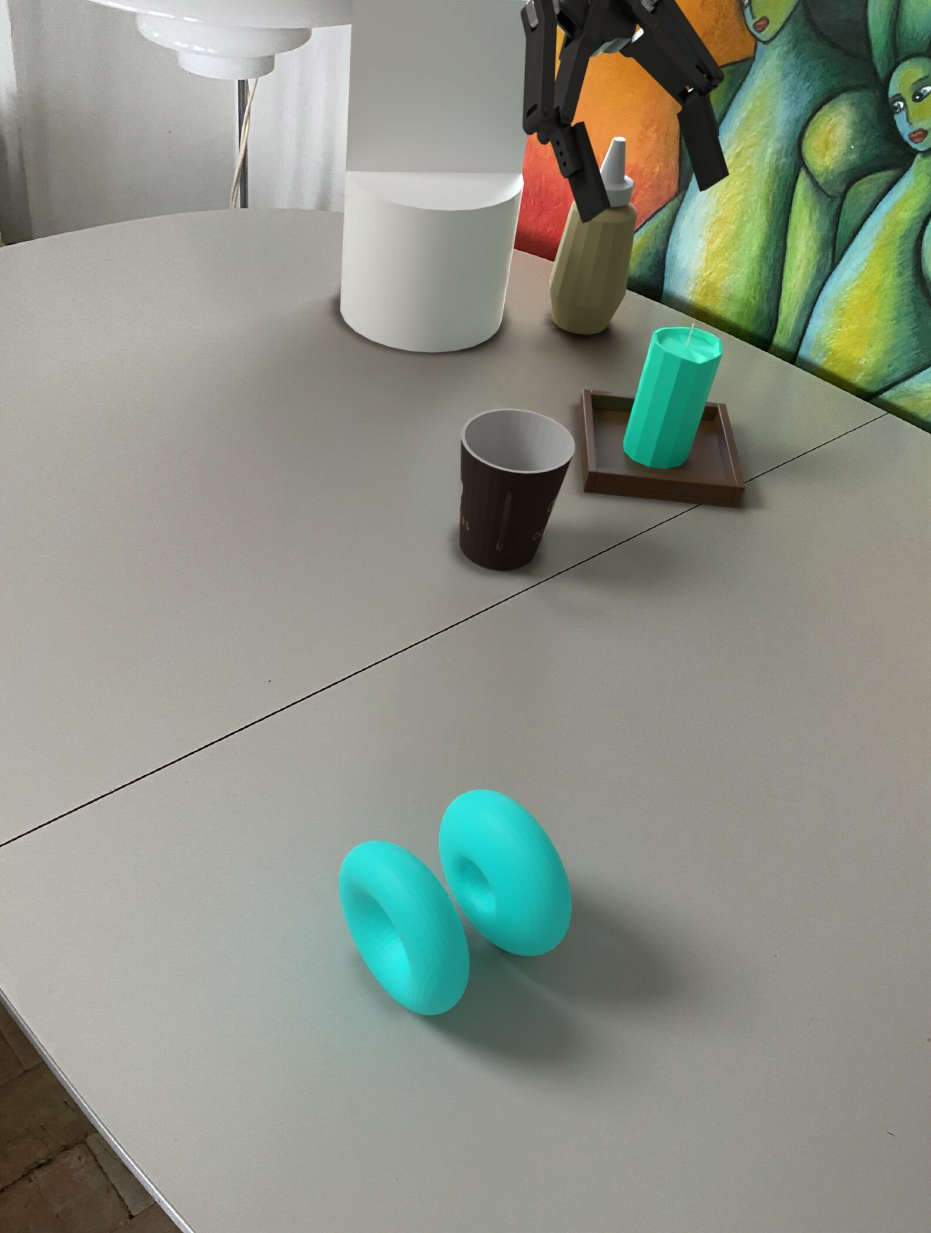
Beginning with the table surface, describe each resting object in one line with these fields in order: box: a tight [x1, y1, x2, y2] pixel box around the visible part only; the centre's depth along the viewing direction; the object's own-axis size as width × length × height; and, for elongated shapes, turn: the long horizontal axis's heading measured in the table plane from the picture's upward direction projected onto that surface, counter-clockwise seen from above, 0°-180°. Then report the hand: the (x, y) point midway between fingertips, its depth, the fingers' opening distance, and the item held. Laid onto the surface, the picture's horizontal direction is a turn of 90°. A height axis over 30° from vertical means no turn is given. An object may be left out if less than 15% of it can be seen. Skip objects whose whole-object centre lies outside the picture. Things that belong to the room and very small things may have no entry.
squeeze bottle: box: [547, 136, 638, 335], centre depth 106 cm, size 8×8×18 cm
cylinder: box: [339, 0, 530, 353], centre depth 102 cm, size 17×17×28 cm
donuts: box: [338, 788, 573, 1016], centre depth 59 cm, size 10×10×10 cm
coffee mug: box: [458, 407, 576, 572], centre depth 83 cm, size 12×9×10 cm
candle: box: [623, 323, 724, 469], centre depth 92 cm, size 6×6×12 cm
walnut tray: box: [577, 388, 747, 509], centre depth 97 cm, size 14×14×2 cm
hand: (657, 199), depth 87 cm, fingers open, 13 cm apart
